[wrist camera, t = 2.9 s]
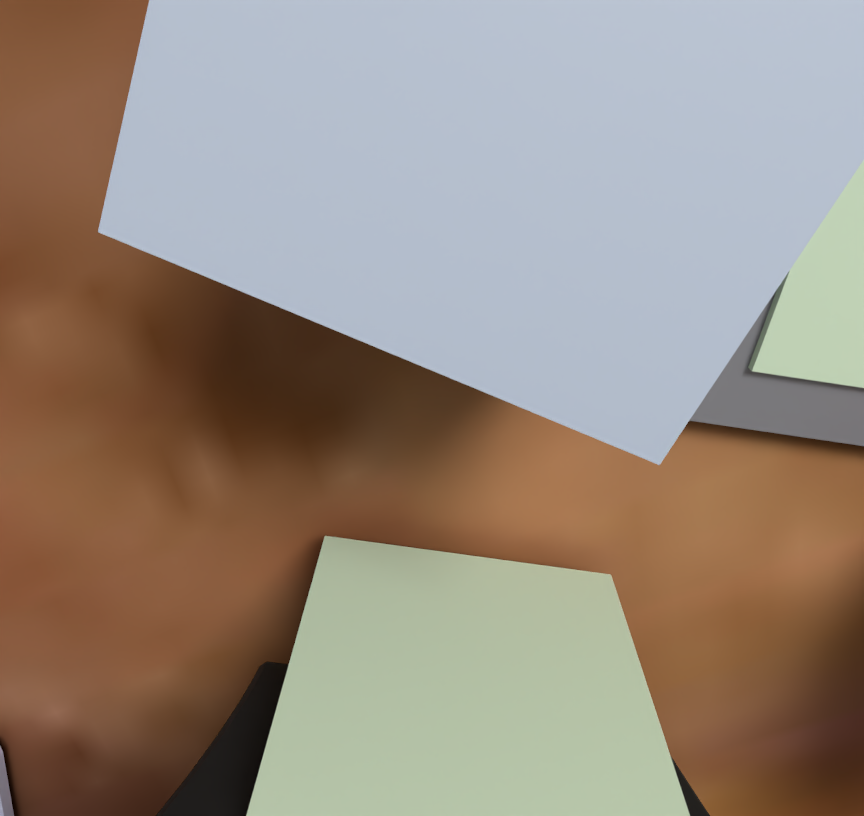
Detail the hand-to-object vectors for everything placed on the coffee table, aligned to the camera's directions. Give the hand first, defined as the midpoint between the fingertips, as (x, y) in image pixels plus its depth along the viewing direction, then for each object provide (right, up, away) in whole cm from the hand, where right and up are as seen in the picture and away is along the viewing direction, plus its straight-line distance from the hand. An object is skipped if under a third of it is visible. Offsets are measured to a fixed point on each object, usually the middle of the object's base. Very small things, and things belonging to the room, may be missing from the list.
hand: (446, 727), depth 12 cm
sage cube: (0, +1, +1) cm, 2 cm away
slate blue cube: (+1, +10, -2) cm, 10 cm away
